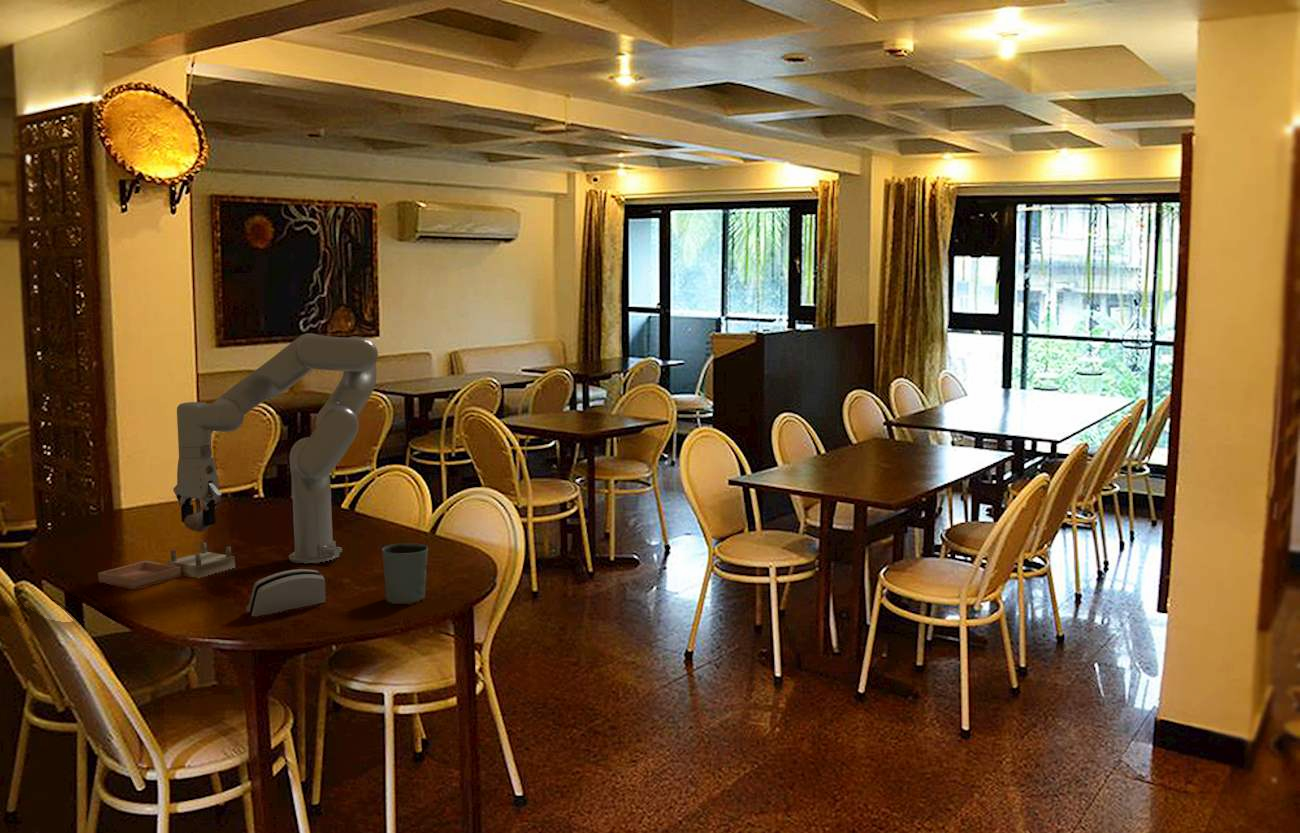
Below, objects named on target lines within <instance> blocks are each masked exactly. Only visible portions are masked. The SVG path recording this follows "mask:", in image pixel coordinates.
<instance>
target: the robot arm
mask: <svg viewBox="0 0 1300 833" xmlns="http://www.w3.org/2000/svg"><path fill="white" fill-rule="evenodd" d="M378 359H379V351H378V348H377V346H376V344H375V343H374V342H372V341H371V340H369V339H367V338H364V337H361V336H355V335H354V336H349V337H344V336H343V337H340V336H328V335H320V334H316V333H312V332H309V333H303V334H301V335H300V336H298V337H297V338H295V339H294V340H293V341H292V342H290V343H289V344H288V345H287V346H285V347H284V348H283V349H282V350H280V351H279V352H278V353H276V354H275V355H273V357H272V358H270V359H268V360H267V361H266V362H265V363H264V364H262V365H260V366H259V367H258V368H257V369H255V370H254V371H252V372H251V373H250V374H249V375H247V376H246V377H244V378H242V380H241V381H239V382H237V383H236V384H235V385H233V386H232V387H231V388H230V389H228V390H226V392H224V393H223V394H222V395H221V396H219V397H218V398H217V399H216V400H214V401H213V402H212V403H211V404H209V403H208V404H207V403H206V402H202V401H190V402H183V403H179V405H177V407H176V421H177V422H176V423H177V424H176V425H177V426H176V427H177V442H178V443H177V445H178V460H177V472H176V474H177V475H176V478H177V479H176V485H175V486H174V487H173V489H172V490H173V493H174V494H175V496H176V499H177V501H178V505H179V506H180V517H181V522H182V523H184V520H185V518H186V517H187V516H188V515H192V514H195V510H194V504H193V500H196V499H199V500H200V502H201V504H202V506H203V508H204V509H202V511H203V525H204V526H208V525H212V526H213V525H216V508H217V505H218V503H219V501H220V500H221V498H222V495H223V494H222V493H221V491H220V490H219V489H220V488H219V478H218V471H217V467H216V462H215V459H214V457H213V456H212V454H213V452H212V450H213V449H212V433H211V432H220V433H230V432H231V433H232V432H233V431H236V430H238V429H239V428H240V427H241V426H242V425H243V423H244V419H245V416H246V415H247V414H248V413H249V412H250V411H252V410H253V409H255V408H256V407H257V406H259V405H261V404H262V403H263V402H265V401H267V400H269V399H271V398H274V397H277V396H280V395H281V394H283V393H285V392H287V390H289V389H290V388H291V387H293V386H294V385H295V384H296V383H297V382H299V381H300V380H301V379H302V378H303V377H305V376H306V375H308V374H309V373H310V372H312V371H313V370H314V369H315V370H324V371H341V372H343V373H342V377H341V379H340V381H339V383H338V384H337V386H336V388H335V390H333V392H332V393H331V395H330V397H329V398H328V399H327V401H326V402H325V403H324V405H323V406H322V408H320V410H319V411H318V413H317V415H316V419H315V426H316V427H315V428H314V430H313V432H312V433H311V434H310V436H306V437H303V438H301V439H298V440H297V441H296V442H295V443H294V444H293V445H292V447H291V449H290V452H289V469H290V476H291V477H290V478H291V491H292V493H291V494H292V511H293V513H292V514H293V515H292V516H293V518H292V519H293V536H294V551H293V552H292V553H290V554H289V555H288V560H289V561H290V562H291V563H293V564H300V563H304V565H310V564H309V563H314V564H321V563H320V562H323V563H326V562H325V561H328V562H330V561H329V560H332V561H334V560H333V559H335V558H337V557H338V558H340V556H339V555H340V553H342V552H343V547H341V546H340V547H339V546H337V544H336V543H337V541H336V540H333V518H332V516H333V515H332V490H331V488H332V486H331V476H330V475H331V473H332V472H333V470H334V469H335V468H336V466H338V464H339V462H340V461H341V460H342V458H343V457H344V456H345V454H346V453H347V451H348V449H349V448H350V446H351V445H352V443H354V440H355V439H356V437H357V434H358V432H359V430H360V429H359V428H360V421H359V418H358V417H359V415H360V413H362V411H363V409H364V408H365V407H366V406H365V405H366V404H367V402H368V401H369V400H370V398H371V396H372V394H373V392H374V390H375V387H376V383H377V365H376V364H377V362H378ZM338 558H337V559H338ZM335 560H336V559H335ZM307 563H308V564H307Z"/></svg>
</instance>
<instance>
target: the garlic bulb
mask: <svg viewBox="0 0 1300 833" xmlns="http://www.w3.org/2000/svg"><path fill="white" fill-rule="evenodd" d="M194 502H195V507H196V508H195V509H196V512H194V514H192V515H188V516H187V517H186V518H185V520H184V522H183V523H184V526H185V528H187V529H189V530H190V531H193V532H196V533H197V532H198V533H203V532H204V531H206V530H207V529H209V528H210V527H212V526H213V525H208V526H204V525H203V509H202V505H201V504H202V503H201V499H194Z"/></svg>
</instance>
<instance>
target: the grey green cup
mask: <svg viewBox="0 0 1300 833" xmlns="http://www.w3.org/2000/svg"><path fill="white" fill-rule="evenodd" d="M381 553H382V554H381V556H382V561H383V568H384V569H383V571H384V573H383V574H384V582H385V586H384V587H385V599H386V600H385V601H386V602H387V601H389V602H392V603H411V602H415V601H419V600H421V599H423V598H424V597H425V598H426V582H427V581H426V580H427V566H428V555H429V554H428V553H429V547H428V546H427V545H425V544H422V543H412V542H411V543H410V542H405V543H403V542H402V543H401V542H400V543H394V544H390V545H387V546H384V547H382V548H381Z"/></svg>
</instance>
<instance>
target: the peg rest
mask: <svg viewBox="0 0 1300 833" xmlns="http://www.w3.org/2000/svg"><path fill="white" fill-rule="evenodd" d="M200 549H201V551H200V552H197V553H194V554H190V555H186V556H183V557H182V556H181V557H179V558H178V557H177V550H175V549H174V550H173V549H172V550H171V551H170V560H167V565H172V566H178V567H181V576H182V575H186V576H185V577H187V576H191V577H190V578H193V577H197V578H196V579H198V578H199V579H201V578H200V577H203V578H205V577H204V576H206V577H209V576H208V575H210V576H212V575H211V574H213V575H215V574H214V573H217V574H219V573H218V572H220V573H222V572H221V571H223V572H226V571H225V570H227V571H229V570H228V569H230V570H233V569H232V568H234V569H236V557H235V556H234V555H232V548H231V546H225V554H223V553H222V554H221V553H217V552H216V553H215V552H210V551H208V550H207V543H206V542H201V543H200Z"/></svg>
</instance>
